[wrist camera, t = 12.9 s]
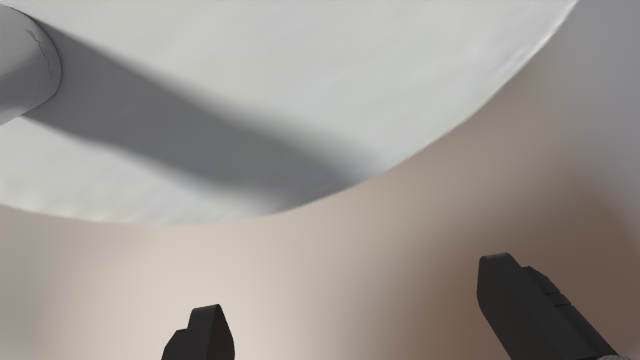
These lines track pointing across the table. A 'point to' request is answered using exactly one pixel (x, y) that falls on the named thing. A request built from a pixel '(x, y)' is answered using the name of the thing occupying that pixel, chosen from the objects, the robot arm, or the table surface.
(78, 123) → the table surface
